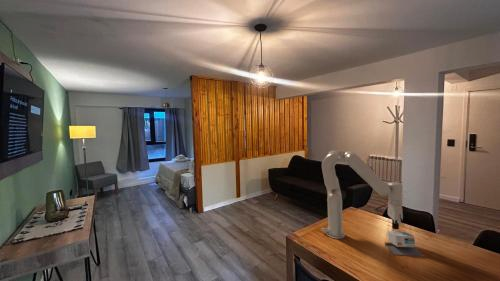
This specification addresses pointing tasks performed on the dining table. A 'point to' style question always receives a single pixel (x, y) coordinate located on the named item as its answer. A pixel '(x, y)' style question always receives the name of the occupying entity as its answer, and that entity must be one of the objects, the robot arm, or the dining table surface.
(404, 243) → the light bulb box
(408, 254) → the mat
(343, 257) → the dining table surface
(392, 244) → the rail
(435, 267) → the dining table surface
